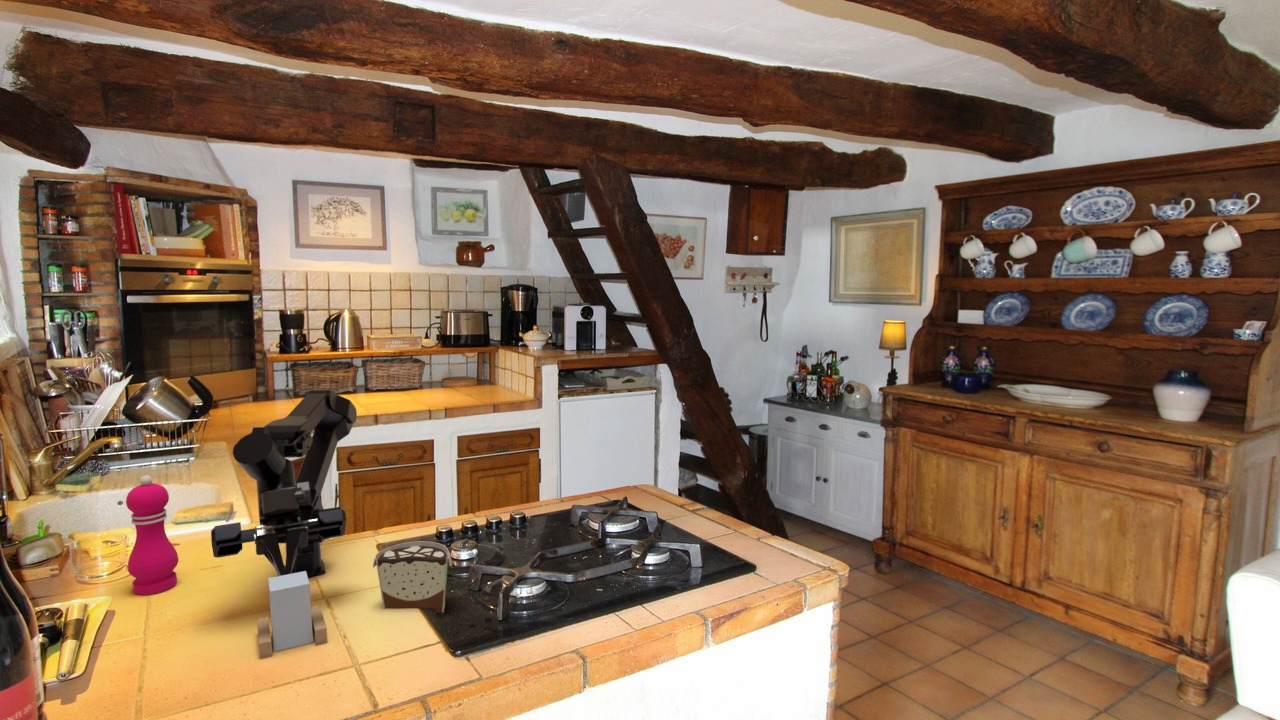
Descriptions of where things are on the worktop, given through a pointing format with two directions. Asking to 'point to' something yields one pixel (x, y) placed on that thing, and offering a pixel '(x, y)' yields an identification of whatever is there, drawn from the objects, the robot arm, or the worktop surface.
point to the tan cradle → (265, 637)
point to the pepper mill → (151, 540)
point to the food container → (413, 575)
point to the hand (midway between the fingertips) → (286, 581)
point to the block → (290, 610)
